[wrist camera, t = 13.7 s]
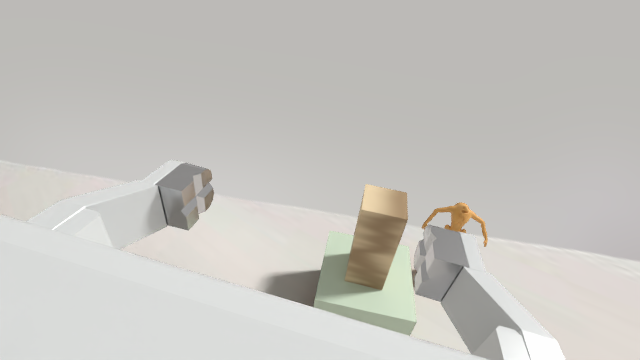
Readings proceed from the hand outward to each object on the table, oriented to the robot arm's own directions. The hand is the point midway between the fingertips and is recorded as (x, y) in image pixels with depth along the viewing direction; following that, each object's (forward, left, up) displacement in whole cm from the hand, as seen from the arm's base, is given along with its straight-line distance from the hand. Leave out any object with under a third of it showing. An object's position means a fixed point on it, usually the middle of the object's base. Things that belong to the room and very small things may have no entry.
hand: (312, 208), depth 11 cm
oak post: (+4, +14, -19) cm, 24 cm away
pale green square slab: (+4, +14, -23) cm, 27 cm away
